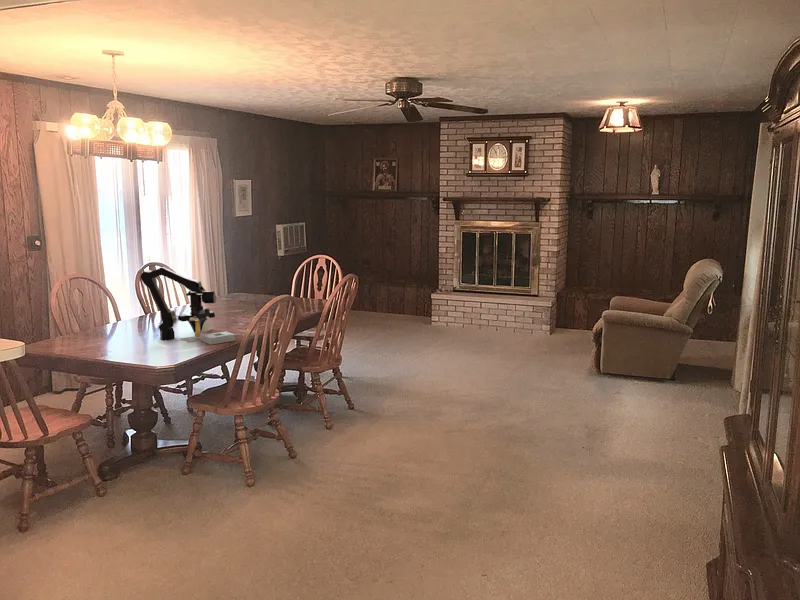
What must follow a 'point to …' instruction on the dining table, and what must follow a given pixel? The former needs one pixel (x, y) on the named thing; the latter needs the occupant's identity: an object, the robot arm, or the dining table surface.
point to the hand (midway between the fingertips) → (197, 331)
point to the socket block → (218, 337)
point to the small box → (206, 324)
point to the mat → (192, 339)
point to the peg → (197, 328)
